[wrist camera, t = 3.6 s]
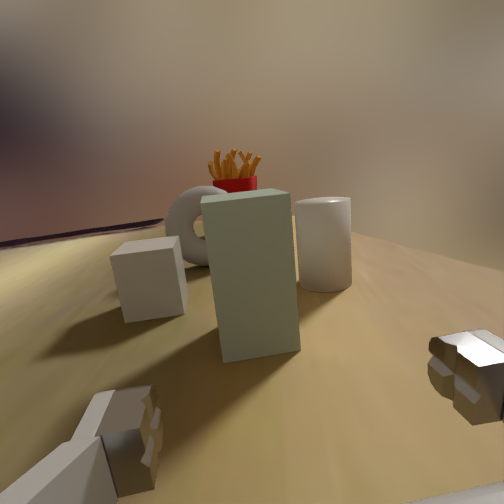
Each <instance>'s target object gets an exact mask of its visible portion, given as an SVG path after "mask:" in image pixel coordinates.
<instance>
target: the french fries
mask: <svg viewBox="0 0 504 504" xmlns="http://www.w3.org/2000/svg"><path fill="white" fill-rule="evenodd" d="M236 152H237V150H236V149H235V148H234V149H232V150H231V153H228V154H227V156H226V158H224V159H223V161H222V163H221V168H220V163H219V158H220V150H215V153H214V167H215V171H216V172H215V171H214V169H213V162H209V163H208V168H209V172H210V174H211V175H212V177H213V178H214V179H215V180H214V181H213V186H214V187H216V188H219V189H222V190H224V191H226V192H227V193H235V192H244V191H253V190H257V176H254V173H255V169H256V166H257V164H258V163H259V161H260V160H261V156H259V155H257V156H256V157H255V159H254V160H253V162H252V164H251V161H250V158H251V155H252V152H251V151H250V152H248V153H247V156H246V159H245V157H244V155H243V154H242V152H241V151H240V152H239V153H238V154H239V155H240V157H241V158H242V160H243V162H244V165H243V166H242V167H241V169H238V170H237V167H236V163H235V161H234V158H235V154H236Z"/></svg>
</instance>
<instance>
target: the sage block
mask: <svg viewBox="0 0 504 504" xmlns="http://www.w3.org/2000/svg"><path fill="white" fill-rule="evenodd" d="M200 205H201V212H202V219H203V226H204V233H205V240H206V247H207V254H208V261H209V268H210V275H211V282H212V289H213V296H214V303H215V310H216V317H217V324H218V331H219V338H220V345H221V352H222V359H223V363H229V362H235V361H241V360H247V359H253V358H259V357H265V356H271V355H277V354H283V353H289V352H295V351H301V346H300V332H299V317H298V302H297V287H296V272H295V257H294V242H293V227H292V212H291V199H290V193H288V192H284V191H281V190H277V189H273V188H271V189H262V190H253V191H244V192H235V193H226V194H217V195H208V196H202V199H201V202H200Z"/></svg>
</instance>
